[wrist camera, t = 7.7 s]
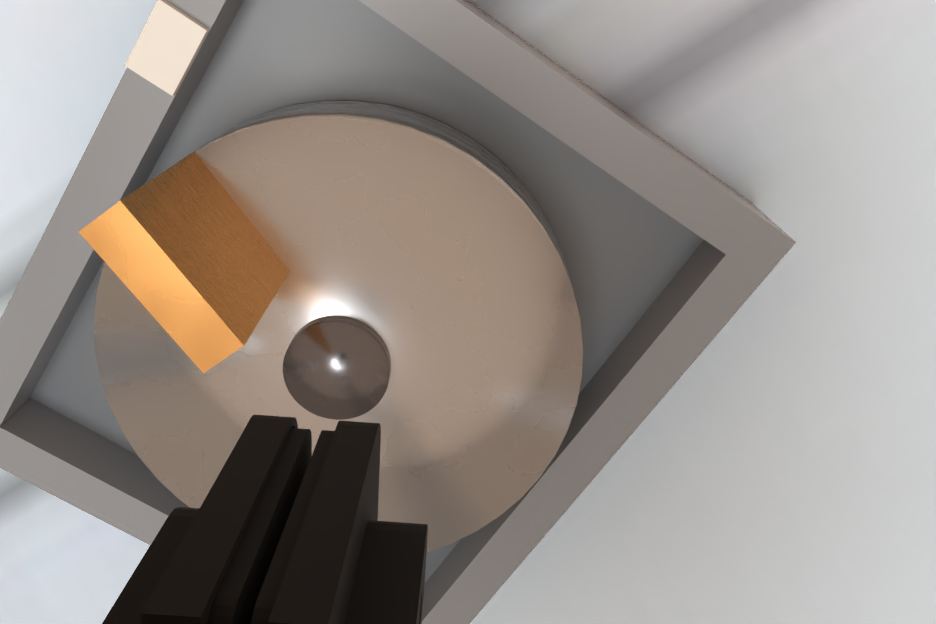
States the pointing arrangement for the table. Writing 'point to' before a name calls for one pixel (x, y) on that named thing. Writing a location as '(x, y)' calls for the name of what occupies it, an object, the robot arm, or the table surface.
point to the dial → (342, 308)
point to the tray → (443, 99)
